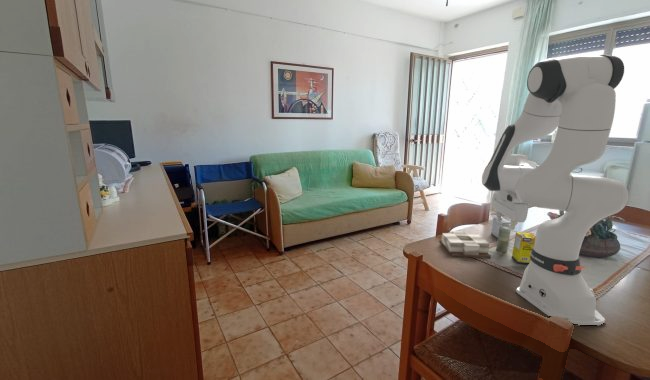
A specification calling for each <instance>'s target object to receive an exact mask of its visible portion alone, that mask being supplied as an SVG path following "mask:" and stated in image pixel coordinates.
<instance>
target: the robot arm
mask: <svg viewBox="0 0 650 380" xmlns="http://www.w3.org/2000/svg"><path fill="white" fill-rule="evenodd" d="M624 75H625V65H624V62H623V60H622V59H621V58H620V57H618V56H615V55H612V54H600V55H576V54H575V55H568V56H563V57H557V58H554V57H551V58H547V59H544V60H540V61H538V62H536V63H535V64H534V65H533V66H532V68H531V69H530V71H529V72H528V76H527V79H526V87H527V90H528V94H527V97H526V99H525V103H524V105H523V108H522V111H521V113H520V115H519V117H518V118H517V119H516V120H515V121H514V122H513V123H512V124H509V125H508V126H507V127H506V128H505V129H504V131H503V133H502V134H501V136H500V139H499V141H498V143H497V145H496V148H495V149H494V151H493V154H492V156H491V158H490V160H489V161H488V163H487V164H486V167H485V169H483V172H482V176H481V183H482V185H483V186H484V188H486V189H487V190H488V191H490V192H494V193H493V195H492V199H491V203H490V207H491V208H493V209H494V210H495V215H496V216H495V217H497V218H496V220H497V221H502V218H504V217H503V216H505V217H507V218H508V219H509V220H510V222H511V224H509V225H508V226H509V227H508V228H509V229H511V231H513V230H515V229H516V226H517V224H518V223H524V222H526V220H527V218H528V213H529V206H532V207H535V208H540V209H549V210H557V211H564V213H562V215H561V216H559V217H556V218H553V219H549V220H546V221H543V222H542V223H540V224H539V225H538V227H537V228H536V234H535V236H536V238H535V243H534V247H533V248H532V250H531V253H530V259H531V261H530V263H529V264H527V266H526V267H525V269H524V272H523V274H522V278H521V281H520V285H519V286H517V288H516V289H515V293H517V294H518V295H519V296H521V297H522V298H523V299H525V300H526V301H527V302H528V303H530V304H531V305H533V306H534V307H536V308H537V309H539V310H540V311H541V312H542V313H544V314H545V315H546V316H548V317H549V316H558V317H561V318H564V319H566V320H568V321H570V322H572V323H574V324H578V325H577V326H580V325H597V326H601V324H602V325H604V324H605V323H606V318H605V317H604V316H603V315H602V314H601V313H600V312H599V311H598V310H597V309H596V308H597V307H596V306H597V300H596V296H595V291H594V290H593V288H590V287H589V285H588V284H587V282H586V280H585V279H584V277H583V276H582V271H585V269H584V268H585V266H581V260H580V258H579V257H580V251H581V248H582V245H583V241H584V239H585V237H586V235H587V233H588V231H589V230H590V229H591V228H593V226H594V225H595V224H597V223H599V222H600V221H602V220H604V219H605V218H608V217H609V216H612V215H615V214H617V213H619V212H622V210H623V209H625V207H626V205H627V204H628V201H629V191H628V189H627V187H626V185H625V184H624V183H623V182H622V181H621V180H617V179H612V178H610V177H609V178H608V177H605V176H600V175H588V174H576V173H573V174H572V172H573V171H574V170H576V169H578V168H579V167H582V166H587V165H589V164H592V163H594V162H596V161H598V160H599V159H601V158H602V156H603V155H605V151H606V148H607V145H608V141H609V137H610V133H611V130H612V126H613V123H614V118H615V112H616V102H617V101H616V91H615V89H616V88H617V87H618V86H619V84H620V83H621V81H622V79H623V77H624ZM555 130H556V133H555V137H554V141H553V144H552V147H551V150H550V152H549V154H548V156H547V157H546V158H545V160H544V161H543V162H542V163H541V164H539V165H538V166H537V167H534V166H532V165H531V164H530V163H529V158H528V155H526V154H522V153H521V154H520V153H517V154H516V153H514V154H513V153H511V151H512V150H513V149H514V148H516V147H517V146H519V145H521V144H524V143H527V142H530V141H534V140H540V139H542V138H544V137H547V136H548V135H550V134H552V133H553V132H554V131H555ZM502 215H503V216H502ZM603 323H604V324H603Z"/></svg>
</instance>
